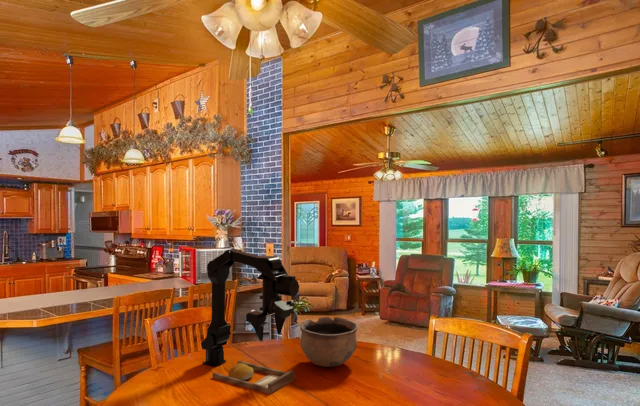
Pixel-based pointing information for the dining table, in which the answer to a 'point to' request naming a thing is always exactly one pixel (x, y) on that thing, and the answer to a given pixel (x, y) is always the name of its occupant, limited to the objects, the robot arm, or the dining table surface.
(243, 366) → the bread roll
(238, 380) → the brown open frame
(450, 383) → the dining table surface
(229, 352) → the dining table surface
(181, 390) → the dining table surface
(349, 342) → the ceramic bowl
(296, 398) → the dining table surface
